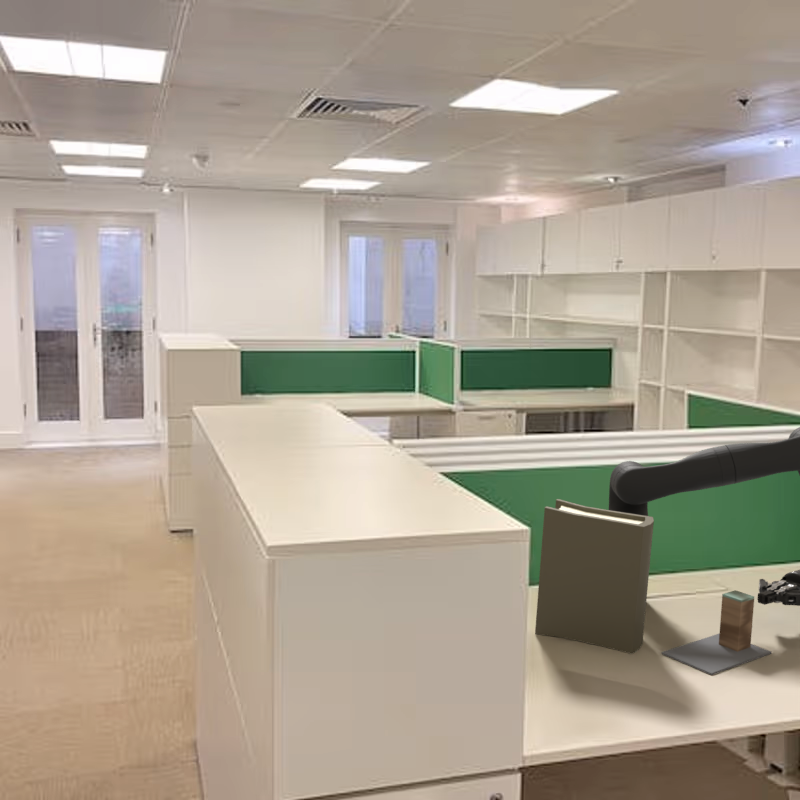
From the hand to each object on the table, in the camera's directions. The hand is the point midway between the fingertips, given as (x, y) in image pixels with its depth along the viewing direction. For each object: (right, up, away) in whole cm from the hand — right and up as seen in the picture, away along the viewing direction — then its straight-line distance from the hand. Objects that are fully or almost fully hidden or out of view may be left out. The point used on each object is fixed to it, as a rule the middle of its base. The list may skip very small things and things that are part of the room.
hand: (761, 599), depth 194 cm
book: (-36, -8, 0) cm, 37 cm away
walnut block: (-7, -9, -4) cm, 12 cm away
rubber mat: (-12, -10, -7) cm, 17 cm away
